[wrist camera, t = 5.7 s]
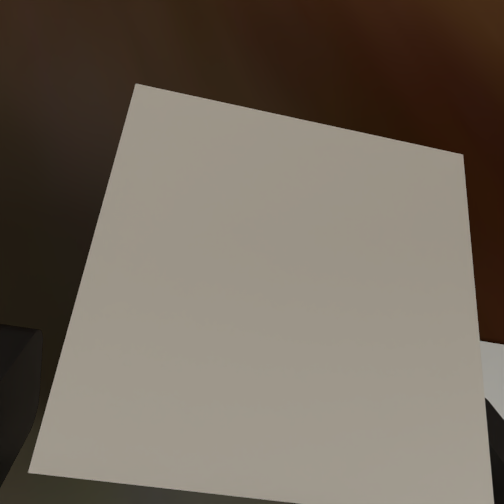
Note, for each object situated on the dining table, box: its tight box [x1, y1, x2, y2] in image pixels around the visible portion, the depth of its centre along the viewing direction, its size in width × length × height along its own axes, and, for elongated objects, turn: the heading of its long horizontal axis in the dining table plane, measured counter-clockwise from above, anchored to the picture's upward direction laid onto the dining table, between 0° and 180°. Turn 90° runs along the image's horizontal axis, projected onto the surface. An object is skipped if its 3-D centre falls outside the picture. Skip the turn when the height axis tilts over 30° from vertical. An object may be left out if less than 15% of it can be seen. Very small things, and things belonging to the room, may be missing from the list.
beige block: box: [28, 84, 494, 504], centre depth 11 cm, size 6×6×10 cm
